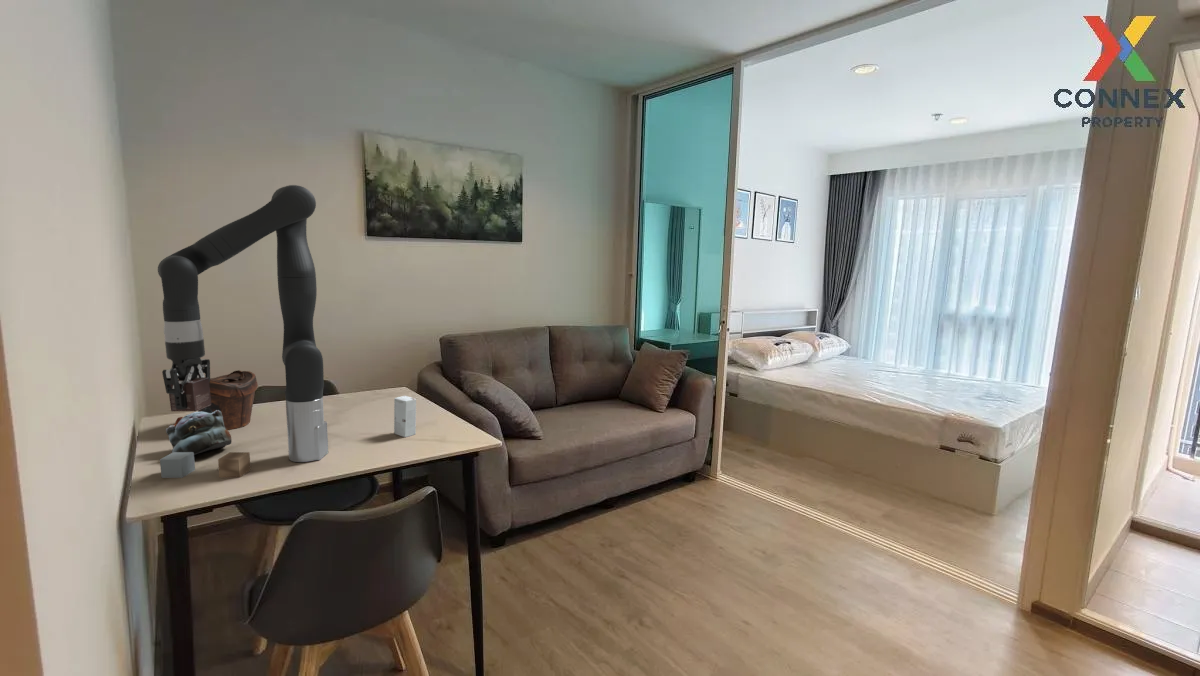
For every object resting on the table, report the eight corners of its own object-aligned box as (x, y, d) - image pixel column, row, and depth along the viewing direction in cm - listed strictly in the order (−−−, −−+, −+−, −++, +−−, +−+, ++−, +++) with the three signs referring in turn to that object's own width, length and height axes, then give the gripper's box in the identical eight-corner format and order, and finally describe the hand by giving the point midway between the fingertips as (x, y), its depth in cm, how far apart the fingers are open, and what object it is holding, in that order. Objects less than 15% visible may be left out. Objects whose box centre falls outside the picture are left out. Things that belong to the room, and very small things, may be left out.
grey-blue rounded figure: (163, 465, 145) (150, 416, 147) (184, 466, 156) (171, 421, 158) (225, 444, 150) (212, 397, 152) (241, 446, 161) (228, 403, 163)
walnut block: (250, 470, 144) (249, 452, 143) (239, 477, 139) (238, 459, 139) (230, 470, 144) (229, 452, 143) (219, 477, 139) (218, 459, 138)
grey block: (195, 470, 143) (193, 452, 142) (182, 477, 138) (180, 459, 137) (175, 470, 143) (173, 452, 142) (161, 478, 138) (159, 459, 137)
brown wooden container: (266, 413, 192) (262, 364, 189) (252, 431, 174) (247, 377, 171) (207, 418, 186) (201, 367, 183) (186, 437, 168) (179, 381, 165)
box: (212, 405, 137) (209, 377, 136) (195, 412, 131) (192, 382, 130) (187, 405, 137) (184, 376, 136) (169, 411, 131) (166, 382, 130)
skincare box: (393, 433, 176) (392, 397, 174) (405, 430, 180) (404, 395, 178) (405, 437, 172) (404, 401, 171) (417, 434, 176) (416, 398, 174)
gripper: (180, 343, 125) (187, 413, 127) (218, 334, 139) (224, 397, 141) (146, 343, 124) (154, 413, 127) (187, 334, 138) (194, 397, 141)
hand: (191, 404), depth 134 cm, fingers closed on box, 6 cm apart
